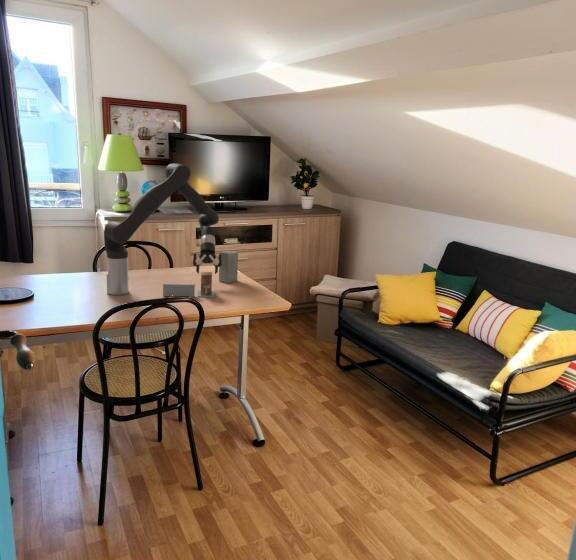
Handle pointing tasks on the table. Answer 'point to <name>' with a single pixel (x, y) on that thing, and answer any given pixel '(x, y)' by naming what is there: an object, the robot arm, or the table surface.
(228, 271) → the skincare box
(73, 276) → the table surface
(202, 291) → the marked block
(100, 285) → the table surface
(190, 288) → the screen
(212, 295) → the pad
